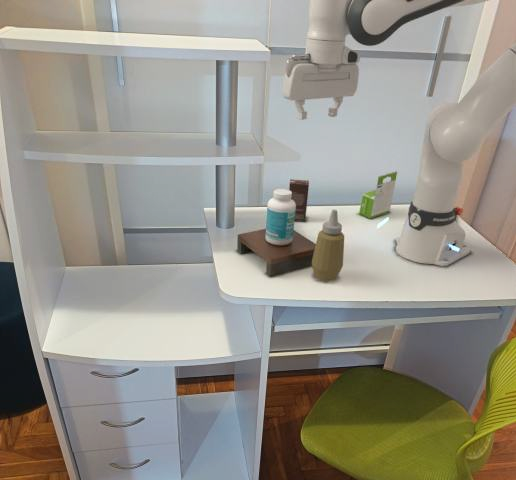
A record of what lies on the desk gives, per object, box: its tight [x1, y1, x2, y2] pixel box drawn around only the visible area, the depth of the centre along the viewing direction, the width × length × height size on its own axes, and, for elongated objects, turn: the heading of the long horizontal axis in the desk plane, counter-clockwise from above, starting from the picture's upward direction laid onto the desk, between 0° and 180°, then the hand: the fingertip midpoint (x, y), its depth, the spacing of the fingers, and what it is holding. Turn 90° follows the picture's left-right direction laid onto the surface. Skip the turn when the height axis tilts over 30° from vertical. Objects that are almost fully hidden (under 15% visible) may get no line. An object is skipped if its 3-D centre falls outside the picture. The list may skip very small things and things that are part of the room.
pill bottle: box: [265, 188, 296, 245], centre depth 133 cm, size 8×7×14 cm
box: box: [288, 179, 310, 222], centre depth 160 cm, size 6×4×12 cm
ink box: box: [358, 170, 398, 220], centre depth 166 cm, size 10×5×14 cm, turn 130°
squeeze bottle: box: [311, 209, 345, 282], centre depth 127 cm, size 8×8×18 cm
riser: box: [236, 228, 316, 278], centre depth 139 cm, size 16×17×5 cm
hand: (317, 117), depth 125 cm, fingers open, 8 cm apart
